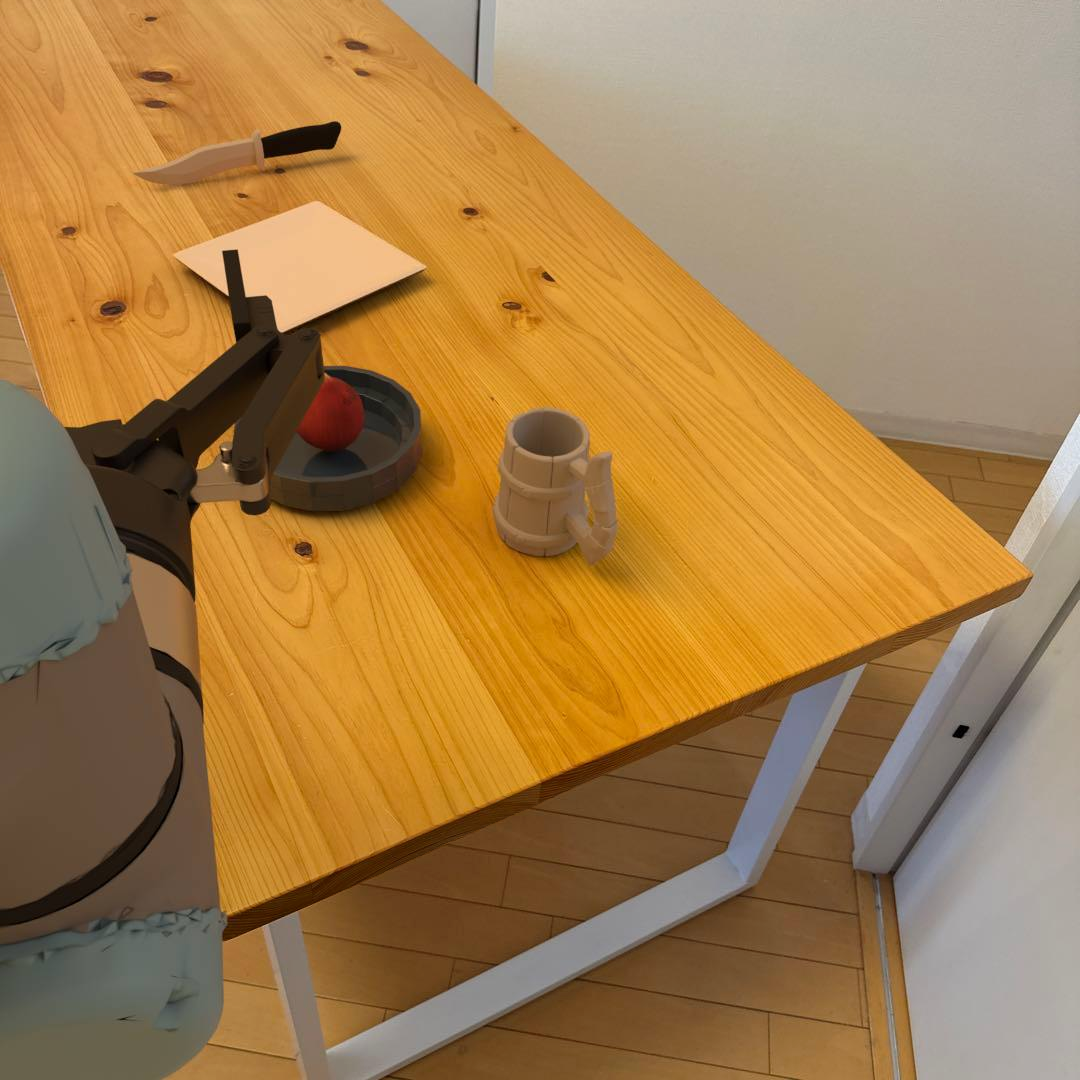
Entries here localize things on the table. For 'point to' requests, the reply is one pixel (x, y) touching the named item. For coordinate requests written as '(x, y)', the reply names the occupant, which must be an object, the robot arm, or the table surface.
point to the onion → (333, 417)
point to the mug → (554, 487)
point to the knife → (242, 154)
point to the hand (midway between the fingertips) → (89, 286)
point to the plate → (304, 263)
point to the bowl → (355, 451)
